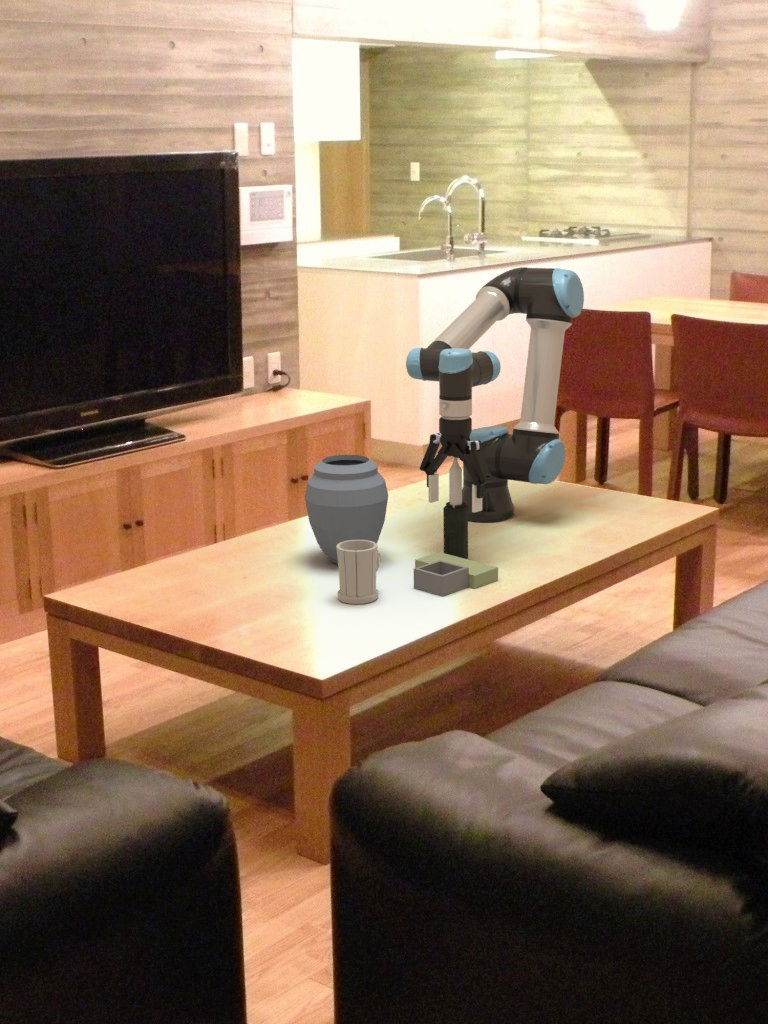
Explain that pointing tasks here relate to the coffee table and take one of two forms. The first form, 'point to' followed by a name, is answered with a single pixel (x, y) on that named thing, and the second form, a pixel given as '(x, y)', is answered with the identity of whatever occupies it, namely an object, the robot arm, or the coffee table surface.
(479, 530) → the coffee table surface
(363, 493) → the vase
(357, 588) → the cup
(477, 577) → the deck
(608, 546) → the coffee table surface
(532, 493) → the coffee table surface
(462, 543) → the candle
